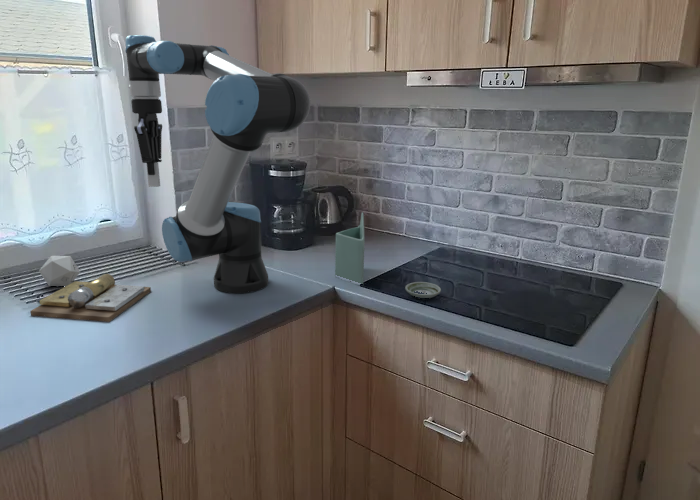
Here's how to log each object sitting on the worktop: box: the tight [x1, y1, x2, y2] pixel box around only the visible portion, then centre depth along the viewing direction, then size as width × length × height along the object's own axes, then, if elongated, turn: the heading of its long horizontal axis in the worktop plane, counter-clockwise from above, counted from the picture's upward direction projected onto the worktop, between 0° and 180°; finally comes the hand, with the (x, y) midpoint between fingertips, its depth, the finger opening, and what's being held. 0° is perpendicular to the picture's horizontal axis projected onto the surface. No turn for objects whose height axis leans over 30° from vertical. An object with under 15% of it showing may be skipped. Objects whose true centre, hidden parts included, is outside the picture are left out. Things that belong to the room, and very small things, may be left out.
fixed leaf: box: [68, 284, 145, 311], centre depth 133 cm, size 12×14×4 cm
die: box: [38, 255, 81, 287], centre depth 145 cm, size 8×9×10 cm
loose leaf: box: [39, 273, 116, 307], centre depth 134 cm, size 12×14×4 cm
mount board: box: [30, 284, 152, 323], centre depth 134 cm, size 20×20×1 cm
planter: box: [334, 212, 365, 285], centre depth 155 cm, size 16×8×20 cm, turn 2°
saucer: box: [404, 281, 442, 299], centre depth 144 cm, size 10×10×2 cm
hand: (154, 186), depth 147 cm, fingers closed
